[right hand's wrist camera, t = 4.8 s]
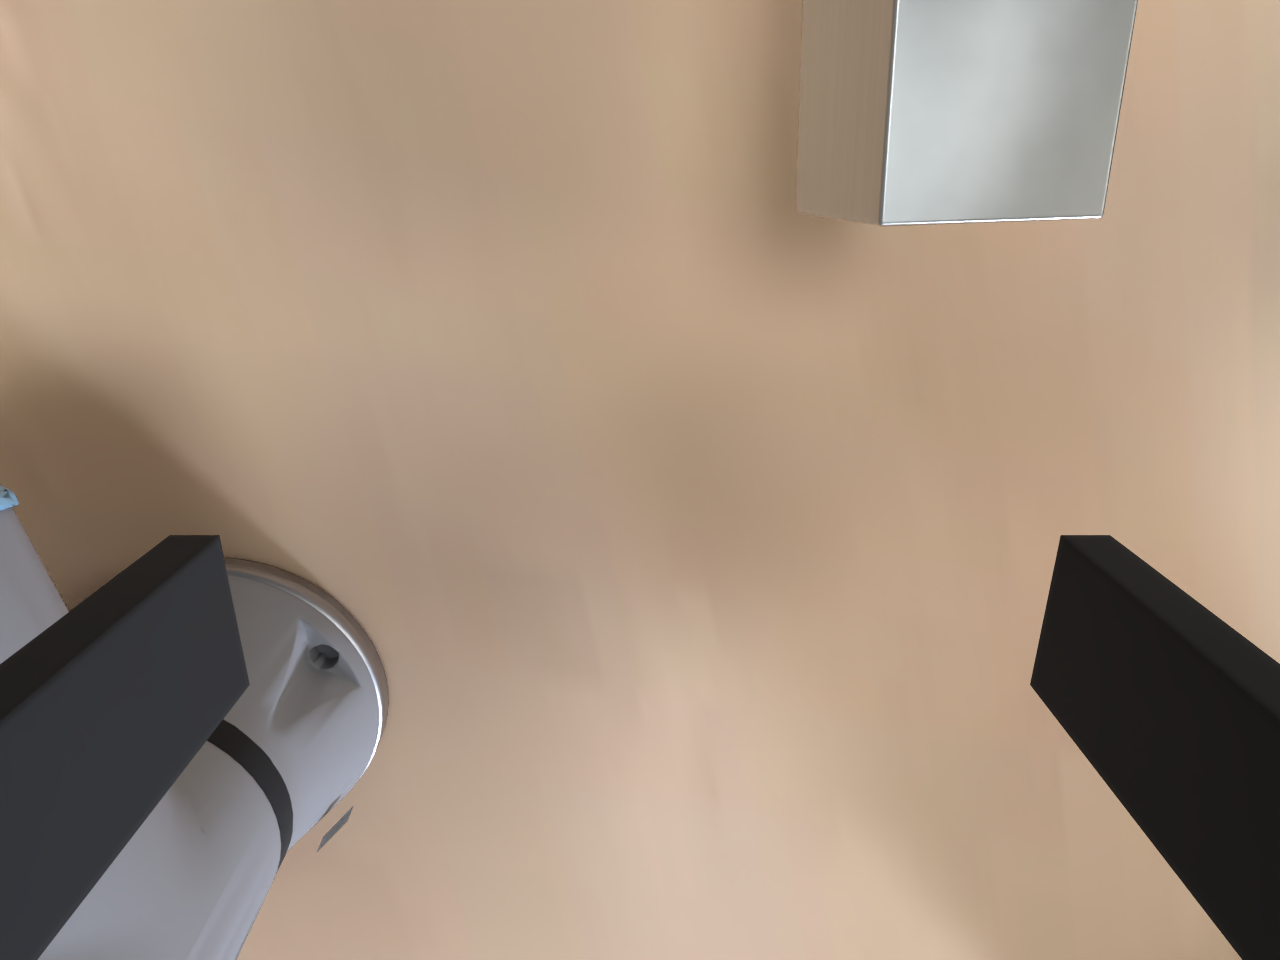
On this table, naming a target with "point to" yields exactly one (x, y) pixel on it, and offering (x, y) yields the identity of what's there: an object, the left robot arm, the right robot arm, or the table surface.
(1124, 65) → the bar
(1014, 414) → the table surface
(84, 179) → the table surface
